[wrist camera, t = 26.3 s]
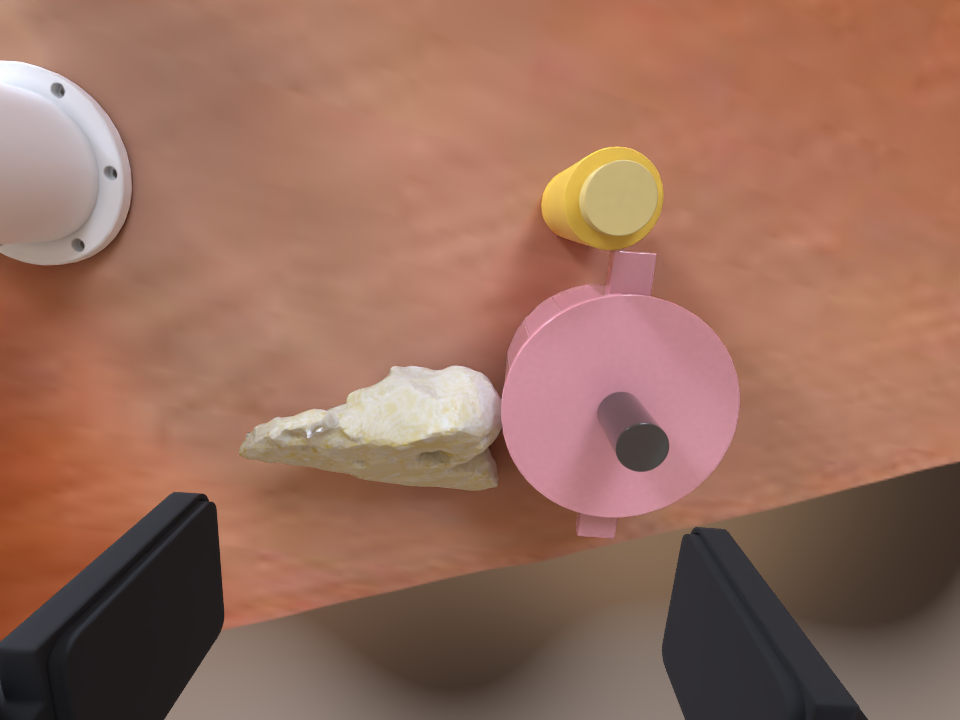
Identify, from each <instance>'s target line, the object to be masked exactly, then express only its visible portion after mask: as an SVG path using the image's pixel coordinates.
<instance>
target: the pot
mask: <svg viewBox="0 0 960 720" xmlns="http://www.w3.org/2000/svg"><path fill="white" fill-rule="evenodd" d="M656 256H657V254H656V253H652V252H639V251H624V250H611V251H610V256H609V264H608V272H607V280H606V285H589V284H587V285H583V286H578V287H574V288H570V289H567V290H564V291H562V292H560V293H557V294H555V295H553V296H552V297H550V298H548V299H546V300H545V301H544V302H542V303H541V304H540V305H538V306H537V307H536V308H535V309H534V310H533V311H532V312H531V313H530V314H528V316H527V317H526V318H525V319H524V320H523V321H522V323H521V325H520V326H519V328H518V329H517V331H516V333H515V335H514V337H513V339H512V342H511V344H510V346H509V348H508V351H507V360H506V372H505V380H506V377H507V373H508V371H509V369H510V367H511V364H512V362H513V360H514V358H515V356H516V355H517V353H518V352H519V350H520V348H521V347H522V345H523V344H524V343H525V342H526V341H527V339H528V338H529V337H530V336H531V334H532V333H533V332H534V331H536V330H537V329H538V328H539V327H540V326H541V325H542V324H543V323H544V322H546V321H547V320H548V319H550V318H551V317H552V316H554V315H555V314H557V313H558V312H560V311H562V310H564V309H566V308H567V307H569V306H571V305H574V304H576V303H579V302H581V301H584V300H586V299H590V298H594V297H598V296H602V295H610V294H617V293H634V294H642V295H649V296H651V290H652V283H653V277H654V270H655V263H656ZM617 519H618V518H605V517H597V516H590V515H586V514H582V513H578V512H577V519H576V531H577V535H578V536H584V537H598V538H613V539H614V538H615V533H616V526H617Z"/></svg>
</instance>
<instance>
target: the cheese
mask: <svg viewBox="0 0 960 720" xmlns="http://www.w3.org/2000/svg"><path fill="white" fill-rule="evenodd" d="M501 400H502V399H501V398H500V396H499V395H498V393H497V392H496V390H495V389H494V387H493V385H492V383H491V381H490V380H489V379H488V378H487V377H486V376H485V375H484V374H482V373H481V372H477V371H474V370H472V369H470V368H467V367H463V366H457V365H455V366H449V367H447V368H445V369H443V370H431V369H428V368H424V367H416V366H408V367H399V366H394V367H392V368H391V369H390V374H389V375H388V376H387V377H386V378H385V379H384V380H382V381H380V382H379V383H377V384H375V385H374V386H371V387H367V388H363V389H358V390H356V391H354V392H352V393H351V394H349V396H348V398H347V403H346V404H343V405H339V406H337V407H334V408H331V409H329V410H327V411H325V410H321V409H311V410H308V411H305V412H302V413H300V414H297V415H295V416H292V417H284V418H280V417H276V418H274V419H272V420H271V421H270V422H268V423H264V424H260V425H258V426H256V427H255V428H254V429H253V431H252V433H248V434H247V436H246V439H245V440H244V442H243V443H242V444H241V446H240V448H239V455H240V456H242V457H244V458H247V459H250V460H258V461H262V462H267V463H276V462H279V463H284V464H288V465H296V466H307V467H313V468H317V469H322V470H326V471H332V472H338V473H347V474H351V475H353V476H354V477H356V478H358V479H365V480H368V481H379V482H384V483H393V484H400V485H403V486H422V487H432V486H435V487H443V488H454V489H463V490H468V491H470V490H484V489H488V488H493V487H497V485H498V474H497V468H496V462H495V460H494V459H493V458H492V455H491V452H490V449H489V448H488V446H490V445H491V444H492V443H493V442H494V441H495V439H496V438H497V437H498V435H499V433H500V430H501V428H502V422H501Z"/></svg>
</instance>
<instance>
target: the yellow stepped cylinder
mask: <svg viewBox="0 0 960 720" xmlns="http://www.w3.org/2000/svg"><path fill="white" fill-rule="evenodd" d="M662 205H663V186H662V181H661V178H660V175H659V173H658V171H657V169H656V168H655V166H654V165H653V164H652V163H651V161H650V160H649V159H648V158H646V157H645V156H644V155H642V154H641V153H639V152H637V151H635V150H633V149H629V148H625V147H609V148H604V149H601V150H598V151H596V152H594V153H592V154H590V155H589V156H587V157H585V158H584V159H582V160H581V161H579V162H577V163H576V164H574V165H572V166H571V167H569V168H568V169H566V170H564V171H563V172H561V173H559V174H558V175H557V176H555V177H554V178H553V179H552V180H551V181H550V182H549V184H548V185H547V187H546V189H545V191H544V193H543V197H542V204H541V208H542V214H543V218H544V220H545V222H546V224H547V226H548V227H549V228H550V229H551V230H552V231H553V232H554V233H555V234H557V235H558V236H560V237H562V238H565V239H568V240H572V241H575V242H578V243H581V244H585V245H588V246H591V247H594V248H598V249H603V250H618V249H623V248H626V247H629V246H631V245H633V244H635V243H637V242H638V241H640V240H641V239H643V238H644V237H645V236H646V235H647V234H648V233H649V232H650V231H651V229H652V228H653V227H654V225H655V224H656V222H657V220H658V218H659V215H660V213H661V210H662Z"/></svg>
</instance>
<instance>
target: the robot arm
mask: <svg viewBox="0 0 960 720" xmlns="http://www.w3.org/2000/svg"><path fill="white" fill-rule="evenodd" d="M131 194H132V179H131V168H130V164H129V160H128V156H127V151H126V149H125V147H124V144H123V142H122V139H121V137H120V135H119V132H118V131H117V129H116V127H115V126H114V124H113V123H112V121H111V119H110V118H109V116H108V115H107V113H106V112H105V111H104V110H103V109H102V108H101V106H100V105H99V104H98V103H97V102H96V101H95V99H94V98H92V97H91V96H90V95H89V94H88V93H86V92H85V91H84V90H83V89H82V88H81V87H79V86H78V85H77V84H75V83H73V82H72V81H70V80H68V79H67V78H65V77H63V76H62V75H60V74H57V73H54V72H52V71H49V70H46V69H44V68H41V67H38V66H34V65H30V64H27V63H23V62H14V61H0V253H2V254H4V255H5V256H7V257H10V258H13V259H16V260H19V261H22V262H25V263H31V264H37V265H61V264H68V263H75V262H78V261H81V260H84V259H87V258H90V257H92V256H93V255H95V254H97V253H98V252H100V251H101V250H103V249H104V248H105V247H106V246H107V245H108V244H109V243H110V242H111V241H112V240H113V239H114V238H115V237H116V236H117V234H118V232H119V231H120V229H121V227H122V226H123V224H124V222H125V219H126V216H127V213H128V211H129V208H130V201H131ZM223 622H224V603H223V590H222V576H221V563H220V549H219V536H218V522H217V509H216V505H215V503H213V502H209V500H208V498H207V496H206V495H205V494H198V493H183V492H173V493H172V494H170V495H169V496H168V497H167V498H165V499H164V500H163V501H162V502H161V503H160V504H159V505H157V506H156V507H155V508H154V509H153V510H152V511H151V512H149V513H148V514H147V515H146V516H145V517H144V518H142V519H141V520H140V521H139V522H138V523H137V524H136V525H134V526H133V527H132V528H131V529H130V530H129V531H127V532H126V533H125V534H124V535H123V536H122V537H121V538H119V539H118V540H117V541H116V542H115V543H114V544H113V545H111V546H110V547H109V548H108V549H107V550H106V551H104V552H103V553H102V554H101V555H100V556H99V557H98V558H96V559H95V560H94V561H93V562H92V563H91V564H89V565H88V566H87V567H86V568H85V569H84V570H83V571H81V572H80V573H79V574H78V575H77V576H76V577H75V578H73V579H72V580H71V581H70V582H69V583H68V584H66V585H65V586H64V587H63V588H62V589H61V590H60V591H58V592H57V593H56V594H55V595H54V596H53V597H51V598H50V599H49V600H48V601H47V602H46V603H45V604H43V605H42V606H41V607H40V608H39V609H38V610H37V611H35V612H34V613H33V614H32V615H31V616H30V617H28V618H27V619H26V620H25V621H24V622H23V623H22V624H20V625H19V626H18V627H17V628H16V629H15V630H13V631H12V632H11V633H10V634H9V635H8V636H7V637H5V638H4V639H3V640H2V641H1V642H0V720H164V719H165V717H166V716H167V714H168V713H169V711H170V710H171V708H172V707H173V705H174V703H175V702H176V700H177V699H178V697H179V696H180V694H181V693H182V691H183V690H184V688H185V686H186V685H187V683H188V682H189V680H190V679H191V677H192V676H193V674H194V673H195V671H196V670H197V668H198V666H199V665H200V663H201V662H202V660H203V659H204V657H205V656H206V654H207V653H208V651H209V650H210V648H211V646H212V645H213V643H214V642H215V640H216V639H217V637H218V635H219V633H220V632H221V629H222V626H223ZM662 656H663V662H664V665H665V668H666V671H667V674H668V676H669V679H670V681H671V684H672V686H673V689H674V692H675V694H676V697H677V699H678V702H679V704H680V707H681V710H682V712H683V715H684V718H685V720H868V719H867V718H866V716H865V715H864V714H863V712H862V711H861V710H860V708H859V706H858V704H857V703H856V702H855V700H854V699H853V698H852V696H851V695H850V694H849V692H848V691H847V690H846V688H845V687H844V686H843V684H842V683H841V682H840V680H839V679H838V678H837V676H836V675H835V674H834V673H833V671H832V670H831V669H830V667H829V666H828V664H827V663H826V662H825V661H824V659H823V658H822V656H821V655H820V654H819V652H818V651H817V650H816V648H815V647H814V646H813V645H812V643H811V642H810V640H809V639H808V638H807V637H806V635H805V634H804V632H803V631H802V630H801V629H800V627H799V626H798V624H797V623H796V622H795V620H794V619H793V618H792V616H791V615H790V614H789V612H788V611H787V610H786V608H785V607H784V606H783V605H782V603H781V602H780V601H779V599H778V598H777V596H776V595H775V594H774V593H773V591H772V590H771V588H770V587H769V586H768V584H767V583H766V582H765V581H764V579H763V578H762V576H761V575H760V574H759V573H758V571H757V570H756V569H755V567H754V566H753V564H752V563H751V562H750V560H749V559H748V558H747V557H746V555H745V554H744V552H743V551H742V550H741V548H740V547H739V546H738V544H737V543H736V542H735V540H734V539H733V538H732V537H731V535H730V534H729V532H727V531H726V530H725V529H715V528H701V527H695V528H694V529H693V530H692V532H691V534H685V535H684V536H683V538H682V542H681V547H680V553H679V558H678V563H677V569H676V574H675V579H674V585H673V590H672V595H671V601H670V606H669V612H668V617H667V622H666V628H665V633H664V639H663V644H662Z"/></svg>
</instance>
